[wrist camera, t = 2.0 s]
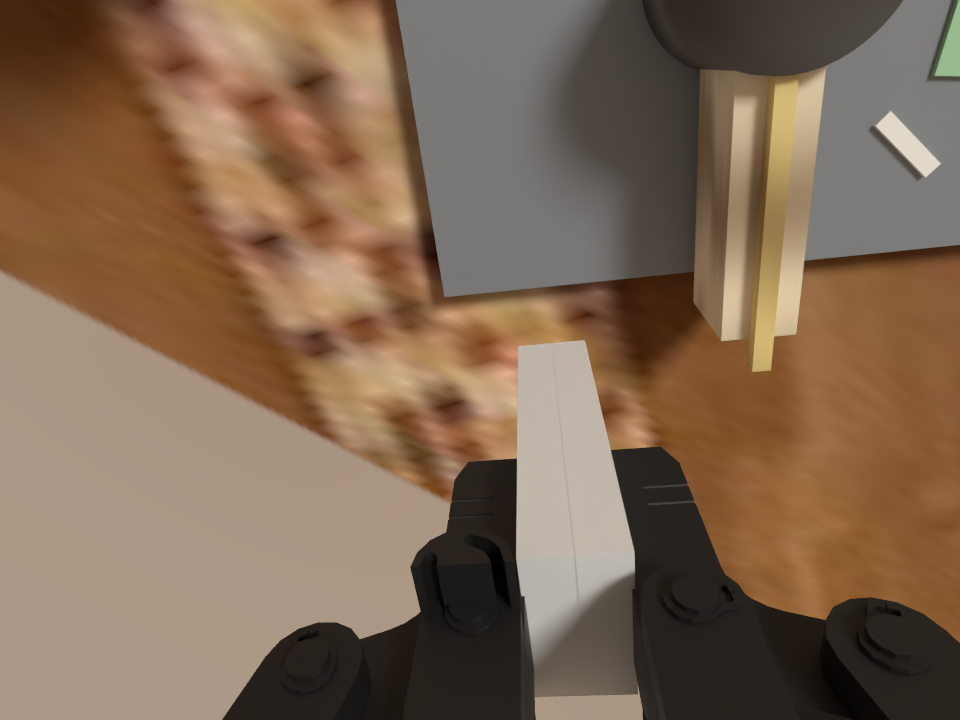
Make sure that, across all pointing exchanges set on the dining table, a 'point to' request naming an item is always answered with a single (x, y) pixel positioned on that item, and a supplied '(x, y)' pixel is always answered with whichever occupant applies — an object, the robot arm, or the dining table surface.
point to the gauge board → (653, 141)
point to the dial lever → (758, 146)
